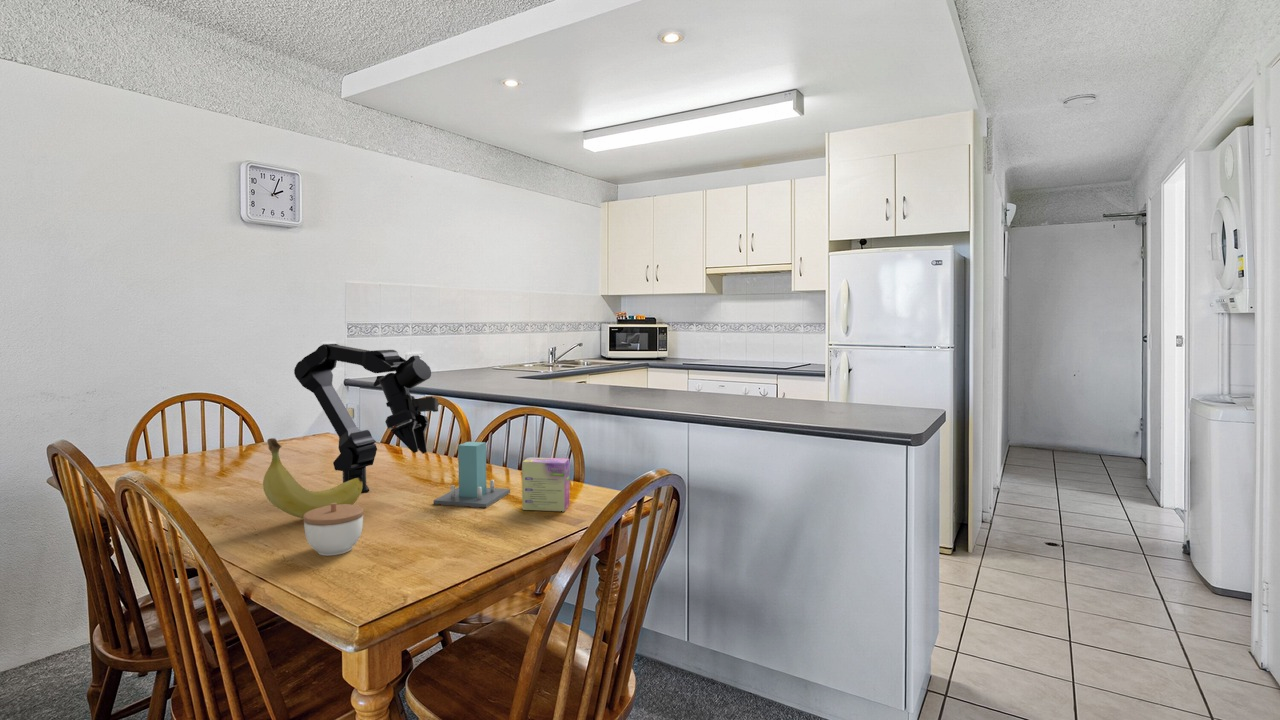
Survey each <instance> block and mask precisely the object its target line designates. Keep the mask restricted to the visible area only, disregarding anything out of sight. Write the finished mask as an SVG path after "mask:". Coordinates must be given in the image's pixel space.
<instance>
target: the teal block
mask: <svg viewBox="0 0 1280 720" xmlns="http://www.w3.org/2000/svg"><path fill="white" fill-rule="evenodd" d="M457 451H458V452H457V454H458V455H457V456H458V457H457V458H458V460H457V461H458V487H459V497H473V498H477V487H481V489H482V495H483V494H485V493H487V488H488V487H487V443H486V442H485V441H484V442H483V441H482V442H481V441H480V442H479V441H466V442H464V443H461V444H458V445H457Z"/></svg>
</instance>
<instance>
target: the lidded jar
mask: <svg viewBox="0 0 1280 720" xmlns="http://www.w3.org/2000/svg"><path fill="white" fill-rule="evenodd" d="M364 511H365V510H364V508H363V507H362V506H361V505H358V504H357V505H356V504H353V505H351V504H340V505H337V503H331V505H330V506H324V507H320V508H316V509H313V510H310V511H308V512H306V513H305V514H304V516H303V518H302V519H303V526H304V527H303V528H304V535H305V538H306V541H307V544H309V546H310V547H311V548H312V549H313V551H316V552H317V554H318V555H319V556H322V557H323V556H325V557H326V556H327V557H332V556H339V555H343V554H347V553H348V552H350V551H352V549H353V547H354V546H355V545H356V544H357V542H358V541H359V540H360V538H361V537H362V536H361V535H362V531H363V526H364Z"/></svg>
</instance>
